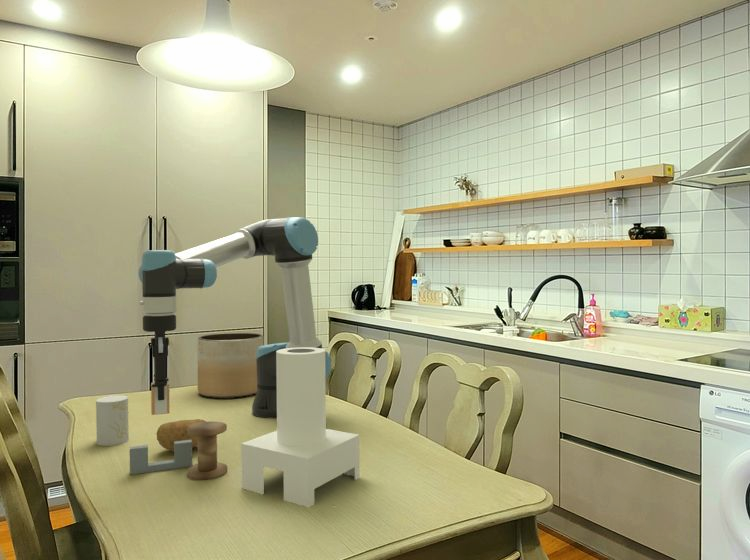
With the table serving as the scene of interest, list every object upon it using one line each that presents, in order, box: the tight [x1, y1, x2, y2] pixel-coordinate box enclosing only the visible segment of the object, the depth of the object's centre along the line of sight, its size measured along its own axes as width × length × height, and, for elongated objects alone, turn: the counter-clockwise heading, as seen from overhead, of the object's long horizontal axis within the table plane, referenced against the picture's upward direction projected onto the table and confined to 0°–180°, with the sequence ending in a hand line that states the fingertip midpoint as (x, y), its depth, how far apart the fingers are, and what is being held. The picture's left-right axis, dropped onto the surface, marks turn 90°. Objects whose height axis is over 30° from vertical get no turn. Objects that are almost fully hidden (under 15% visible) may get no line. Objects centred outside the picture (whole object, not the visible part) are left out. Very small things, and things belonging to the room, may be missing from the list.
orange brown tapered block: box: [150, 381, 170, 416], centre depth 134 cm, size 4×4×7 cm
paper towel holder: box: [240, 347, 361, 508], centre depth 125 cm, size 19×19×30 cm
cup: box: [95, 395, 130, 447], centre depth 157 cm, size 8×8×12 cm
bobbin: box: [187, 420, 228, 481], centre depth 132 cm, size 9×9×11 cm
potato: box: [156, 418, 207, 452], centre depth 149 cm, size 10×14×8 cm
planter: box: [197, 332, 264, 399], centre depth 218 cm, size 25×25×22 cm
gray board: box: [129, 440, 193, 476], centre depth 135 cm, size 14×2×6 cm, turn 113°
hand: (160, 410), depth 135 cm, fingers closed on orange brown tapered block, 4 cm apart
